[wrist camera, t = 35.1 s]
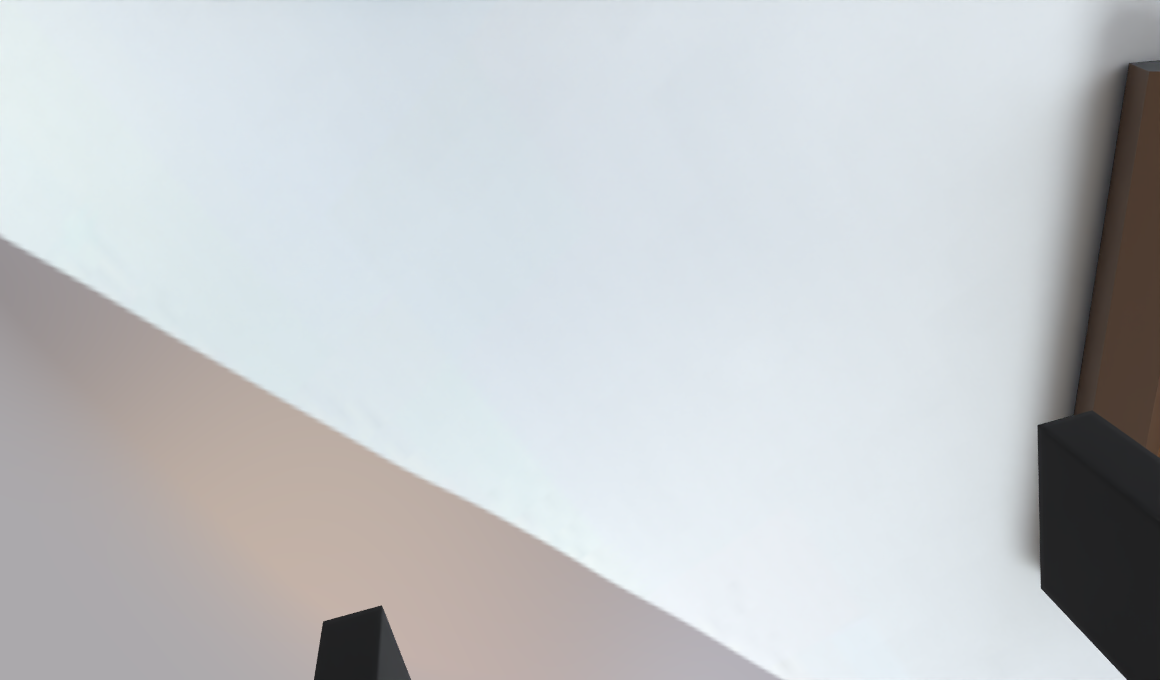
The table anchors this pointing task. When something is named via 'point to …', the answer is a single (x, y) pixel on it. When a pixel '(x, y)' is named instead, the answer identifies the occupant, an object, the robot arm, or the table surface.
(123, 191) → the table surface
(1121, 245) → the pan flute
